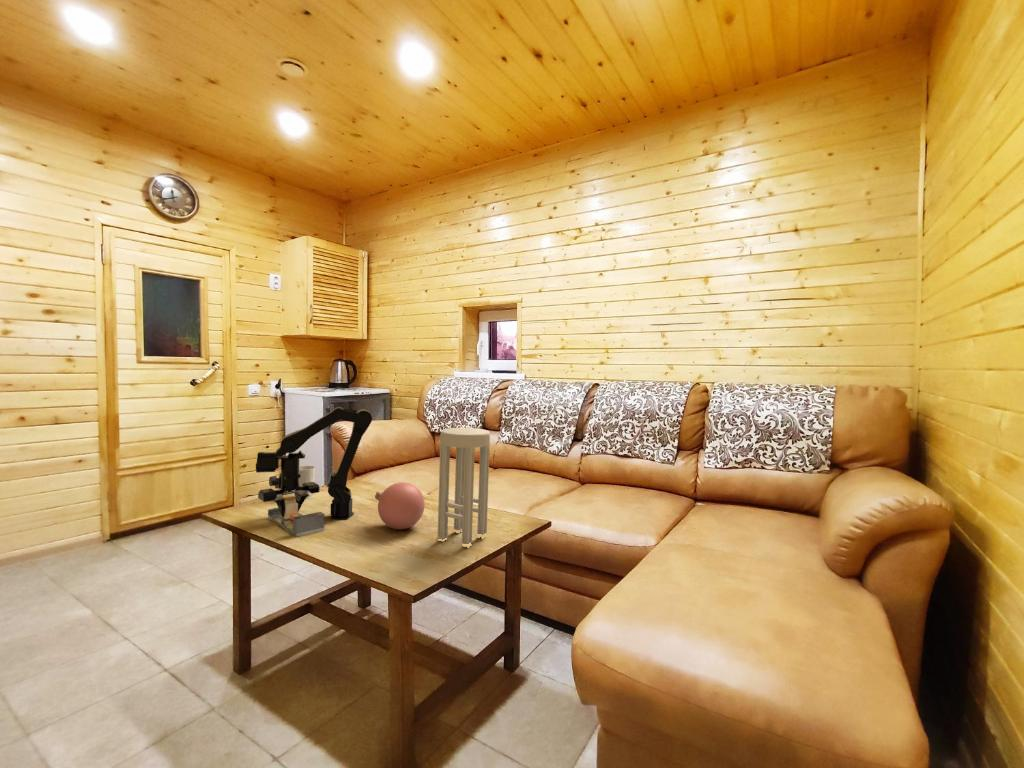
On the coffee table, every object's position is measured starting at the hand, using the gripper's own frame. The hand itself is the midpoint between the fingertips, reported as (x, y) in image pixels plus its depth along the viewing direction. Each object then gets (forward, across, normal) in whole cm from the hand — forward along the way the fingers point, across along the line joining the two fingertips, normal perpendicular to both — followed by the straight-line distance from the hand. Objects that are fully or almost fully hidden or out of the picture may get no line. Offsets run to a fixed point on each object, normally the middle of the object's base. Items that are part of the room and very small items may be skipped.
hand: (289, 515), depth 165 cm
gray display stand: (+2, 0, +5) cm, 5 cm away
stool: (+2, -34, +52) cm, 62 cm away
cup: (+2, -15, -24) cm, 28 cm away
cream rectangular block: (0, 0, +2) cm, 3 cm away
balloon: (+2, -24, +29) cm, 38 cm away
